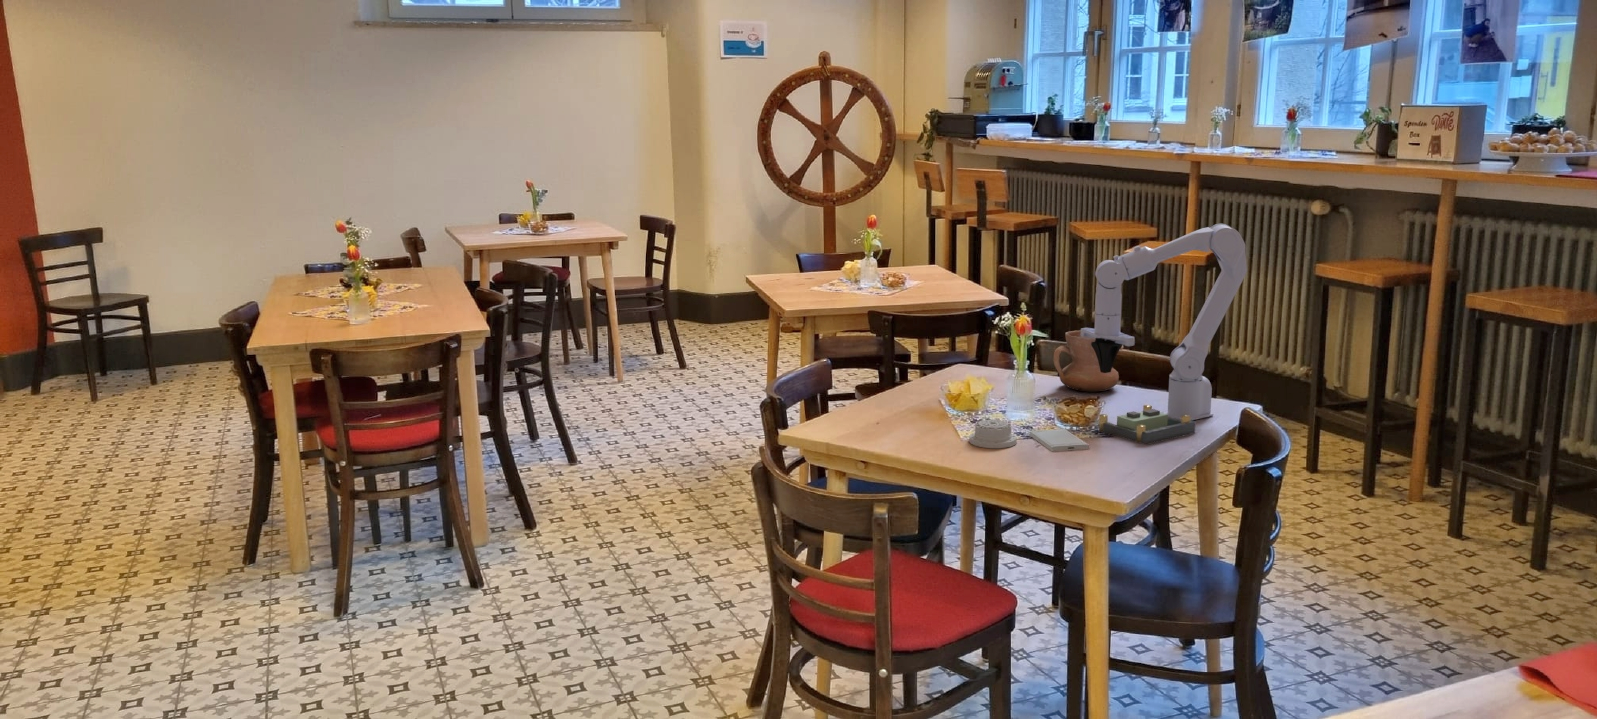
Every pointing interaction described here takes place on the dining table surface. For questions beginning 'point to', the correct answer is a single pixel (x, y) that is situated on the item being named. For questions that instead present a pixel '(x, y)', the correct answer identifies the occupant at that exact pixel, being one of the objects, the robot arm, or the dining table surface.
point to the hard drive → (1058, 440)
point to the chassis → (1151, 436)
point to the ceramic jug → (1083, 365)
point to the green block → (1143, 419)
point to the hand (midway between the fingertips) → (1105, 372)
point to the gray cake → (993, 434)
